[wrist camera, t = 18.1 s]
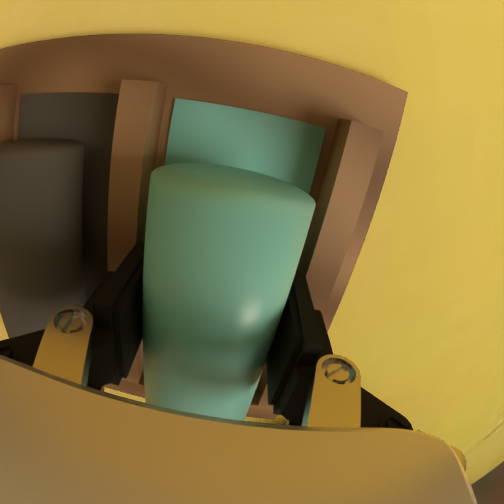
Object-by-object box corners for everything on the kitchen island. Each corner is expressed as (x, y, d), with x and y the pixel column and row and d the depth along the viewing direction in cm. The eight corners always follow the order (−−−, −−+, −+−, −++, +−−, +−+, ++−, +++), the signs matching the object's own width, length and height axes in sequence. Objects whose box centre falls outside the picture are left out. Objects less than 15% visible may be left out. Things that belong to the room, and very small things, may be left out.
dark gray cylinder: (105, 324, 14) (65, 384, 10) (42, 300, 14) (-3, 348, 10) (106, 143, 11) (30, 166, 7) (30, 136, 10) (-43, 157, 7)
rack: (289, 397, 18) (292, 427, 16) (20, 333, 17) (4, 355, 15) (399, 92, 10) (428, 91, 8) (3, 51, 9) (-28, 50, 7)
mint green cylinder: (248, 368, 14) (248, 447, 10) (156, 352, 14) (134, 428, 10) (301, 181, 10) (334, 230, 6) (172, 156, 10) (124, 191, 6)
